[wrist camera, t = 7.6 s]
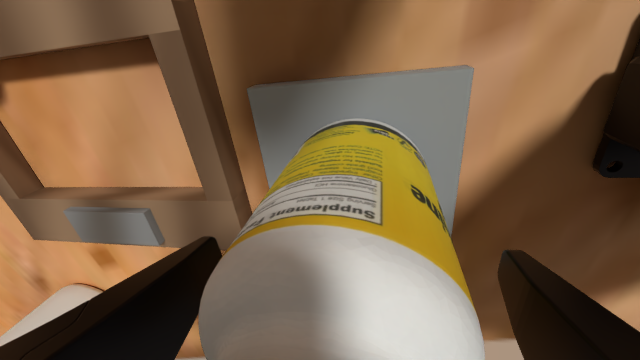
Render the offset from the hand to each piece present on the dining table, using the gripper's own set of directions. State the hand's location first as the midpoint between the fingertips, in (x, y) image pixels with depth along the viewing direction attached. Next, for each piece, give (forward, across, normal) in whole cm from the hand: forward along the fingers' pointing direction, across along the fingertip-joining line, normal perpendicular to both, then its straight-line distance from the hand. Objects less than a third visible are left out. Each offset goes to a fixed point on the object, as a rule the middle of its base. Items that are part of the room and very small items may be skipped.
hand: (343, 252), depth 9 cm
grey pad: (+6, 0, 0) cm, 6 cm away
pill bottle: (+5, 0, 0) cm, 5 cm away
